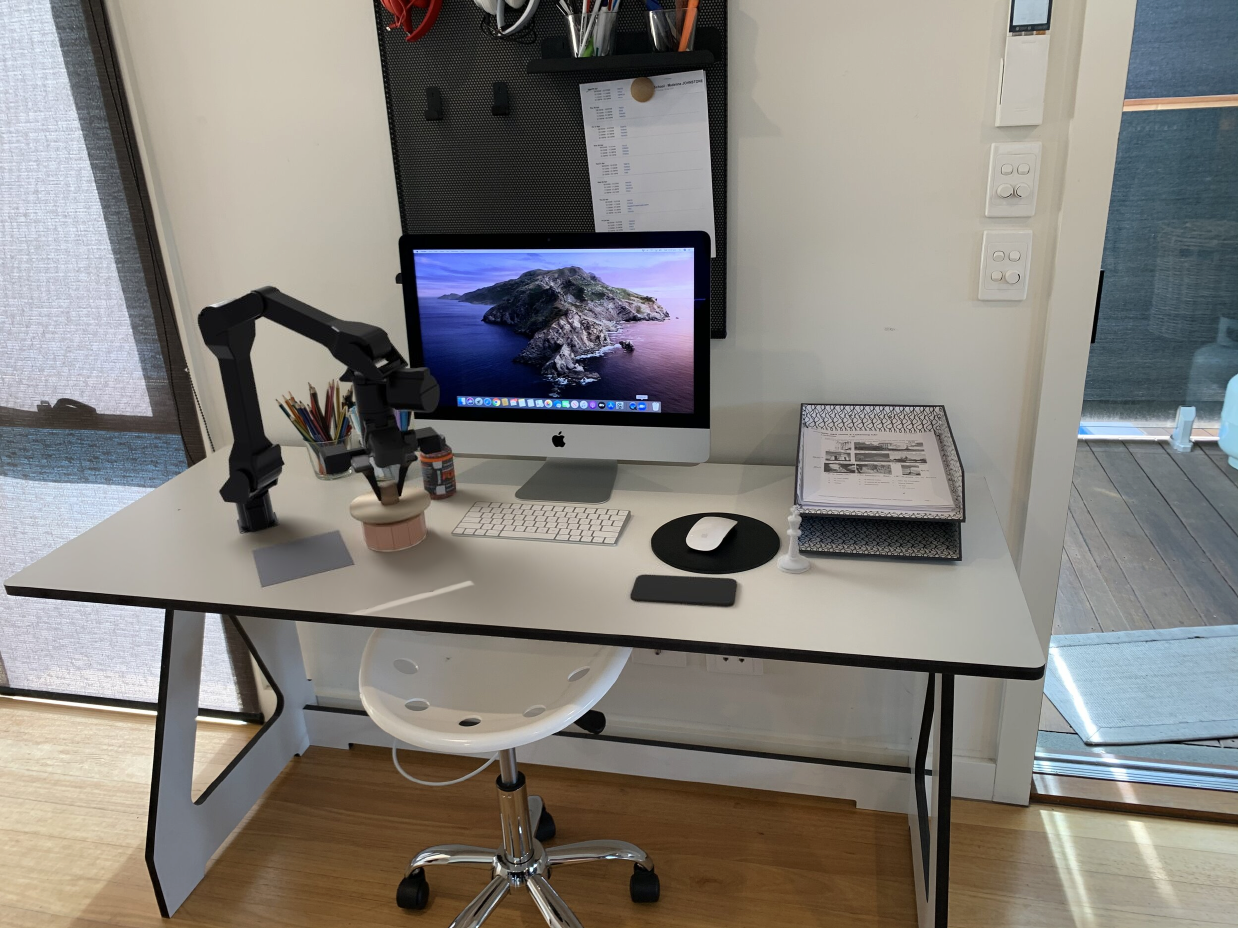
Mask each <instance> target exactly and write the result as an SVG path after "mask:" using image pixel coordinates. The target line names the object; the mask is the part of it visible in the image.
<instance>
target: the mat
mask: <svg viewBox="0 0 1238 928" xmlns="http://www.w3.org/2000/svg"><path fill="white" fill-rule="evenodd" d="M251 551H252V554H253V559H254V563H255V568H256V571H257V574H258V575H257V576H258V579H259V583H260V587H261V588H264V587H269V586H274V585H276V584H280V583H281V584H282V583H285V582H289V581H292V580H296V579H301V578H305V577H309V576H314V575H317V574H320V573H325V572H328V571H332V570H333V571H334V570H338V569H341V568H345V567H349V566H353V565H355V562H354V560H353V558H352V556H351V553H350V552H349V549H348V547H347V545H346V543H345V541H344V539H343V537H342V535H341V532H340V530H339V529H337V530H333V531H330V532H325V533H321V534H316V535H312V536H307V537H303V538H299V539H294V540H290V541H285V542H281V543H277V544H272V545H269V546H264V547H260V548H256V549H252V550H251Z"/></svg>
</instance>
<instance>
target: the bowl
mask: <svg viewBox="0 0 1238 928" xmlns="http://www.w3.org/2000/svg"><path fill="white" fill-rule="evenodd" d="M360 526H361V530H362V531H361V532H362V538H363V541H364V544H365V546H366V547H367V548H368V549H370V550H372V551H376V552H384V553H385V552H397V551H402V550H406V549H409V548H412V547H414V546H416V545H418V544H419V543H421V542H422V541H424V539H425V538H426V536H427V533H428V531H427V523H426V515H425V511H423V512H422V513H420V514H418V515H416V516H414V517H411V518H408V519H405V520H401V521H397V522H391V523H366V522H361V521H360Z"/></svg>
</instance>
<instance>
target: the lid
mask: <svg viewBox="0 0 1238 928" xmlns="http://www.w3.org/2000/svg"><path fill="white" fill-rule="evenodd" d="M378 486H379V490H380V494H381V501H379V500H378V499H377V497H376V495H375V493H374V491H373V489H371V490H369V491H367V492H365V493H363V494H360V495H359V496H357V497H355V498H354V499H353V500H352V501H351V502H350V504H349V513H350V515H351V517H352V519H355V520H356V521H359V522H360V523H361V522H366V523H391V522H397V521H401V520H405V519H408V518H411V517H414V516H416V515H418V514H420V513H422V512H423V511H424V512H425V511H426V510H427V509H428V508H429V507H430V506H431V501H432V500H431V499H432V498H430V494H429V493H428V492H427V491H426V490H424V488H421V487H417V486H413V485H404V486H403V491H402V495H401V497H399V494H398V487H397V483H396V482H395V481H393V480H391V481H390V480H387V481H383V482H380V483H379V484H378Z"/></svg>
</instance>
